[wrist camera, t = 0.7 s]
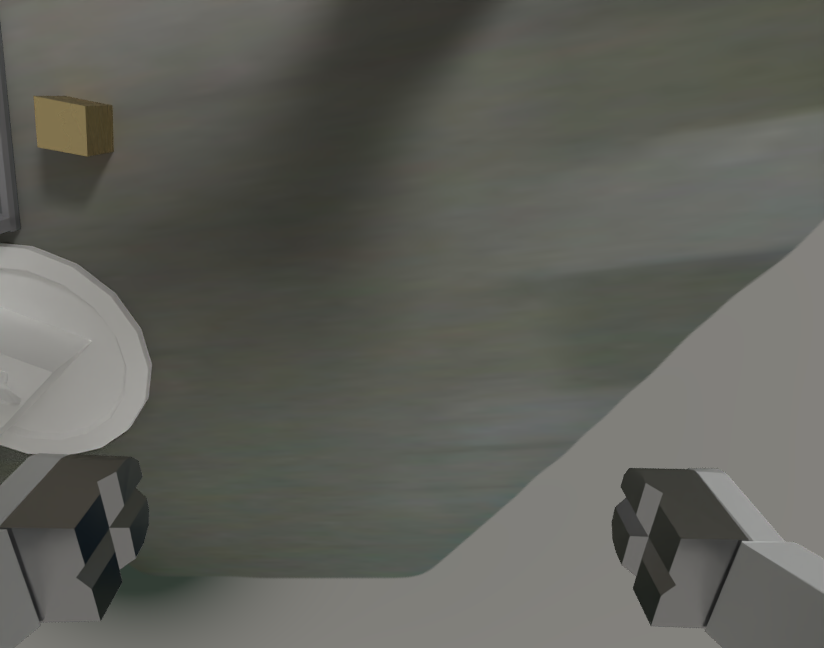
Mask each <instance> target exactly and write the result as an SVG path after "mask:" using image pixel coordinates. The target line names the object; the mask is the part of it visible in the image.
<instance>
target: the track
mask: <svg viewBox="0 0 824 648" xmlns="http://www.w3.org/2000/svg"><path fill="white" fill-rule="evenodd" d="M19 229H21V227H20V217H19V207H18V197H17V187H16V176H15V166H14V156H13V146H12V136H11V126H10V116H9V105H8V95H7V85H6V75H5V65H4V55H3V45H2V35H1V24H0V234H2V233H5V232H14V231H16V230H19Z"/></svg>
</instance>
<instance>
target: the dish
mask: <svg viewBox="0 0 824 648" xmlns="http://www.w3.org/2000/svg"><path fill="white" fill-rule="evenodd" d="M151 371H152V363H151V359H150V356H149V353H148V349H147V346H146V343H145V340H144V336H143V333H142V330H141V328H140V326H139V325H138V323H137V322H136V321H135V319H134V318H133V316H132V315H131V314H130V312H129V311H128V310H127V308H126V307H125V305H124V304H123V303H122V301H121V300H120V299H119V297H118V296H117V294H116V293H115V292H113V291H112V290H111V289H110V288H108V287H107V286H106V285H104V284H103V283H102V282H101V281H99V280H98V279H97V278H95V277H94V276H93V275H91V274H90V273H89V272H88V271H86V270H85V269H84V268H82V267H81V266H80V265H78V264H76V263H74V262H72V261H69V260H67V259H64V258H62V257H59V256H57V255H54V254H52V253H49V252H47V251H44V250H42V249H39V248H37V247H34V246H28V245H17V244H6V243H0V445H2V446H5V447H8V448H11V449H14V450H17V451H20V452H24V453H27V454H39V453H47V454H67V455H70V454H77V453H82V452H86V451H90V450H94V449H98V448H102V447H103V446H105V445H106V444H108V443H109V442H111V441H112V440H114V439H115V438H117V437H118V436H120V435H121V434H123V433H124V432H125V431H127V430H128V429H129V428H130V427H131V426H132V424H133V423H134V421H135V419H136V418H137V416H138V415H139V413H140V411H141V410H142V408H143V406H144V405H145V403H146V401H147V400H148V398H149V390H150V380H151Z"/></svg>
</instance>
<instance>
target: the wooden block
mask: <svg viewBox="0 0 824 648" xmlns="http://www.w3.org/2000/svg"><path fill="white" fill-rule="evenodd" d="M34 107H35V120H36V132H37V145H38V147H39V148H45V149H50V150H55V151H61V152H66V153H71V154H77V155H82V156H87V157H88V156H93V155H98V154H103V153H109V152H114V147H113V111H112V105H108V104H103V103H98V102H93V101H87V100H82V99H77V98H72V97H67V96H34Z"/></svg>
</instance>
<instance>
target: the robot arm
mask: <svg viewBox="0 0 824 648" xmlns="http://www.w3.org/2000/svg"><path fill="white" fill-rule="evenodd" d="M142 477H143V476H142V472H141V468H140V465H139V461H138V460H137V459H135V458H133V457H127V456H104V455H82V454H70V455H67V454H47V453H39V454H36V455H33V456H30V457H28V458H27V459H26V460H25V461H24V462H23V463H22V464H21V465H20V466H19V467H18V468H17V469H16V470H15V471H14V472H13V473H12V474H11V475H10V476H9V477H8V478H7V479H6V480H5V481H4V482H3V483H2V484H1V485H0V648H14V647H15V646H17V645H18V644H19V643H20V642H22V641H23V640H24V639H25V638H26V637H28V636H29V635H30V634H31V633H32V632H34V631H35V630H36V629H37V628H39V627H40V622H86V621H101V620H102V618H103V616H104V614H105V612H106V611H107V609H108V607H109V605H110V604H111V602H112V600H113V598H114V596H115V595H116V593H117V591H118V589H119V587H120V586H121V584H122V578H121V574H120V569H121V568H123V567H124V566H125V565H127V564H128V563H130V562H131V561H133V560H134V559H135V558H136V557H137V555H138V553H139V551H140V549H141V548H142V546H143V544H144V541H145V537H146V533H147V530H148V526H149V506H148V501H147V498H146V497H145V496H144V495H143V494H142V493H141V492H140V491H139V490H138V489H136V486H137V485H138V483H139V482H140V480H141V479H142ZM621 488H622V490H623V492H624V494H625V496H626V498H625V499H624V500H623V501H622V502H621V503H619V504H618V505H617V506H616V507H615V510H614V515H613V519H612V538H613V543H614V546H615V550H616V553H617V555H618V558H619V560H620V562H621V564H622V566H624V567H625V568H627V569H628V570H629V571H630V572H631V573H633V574H634V575H635V576H636V579H635V583H634V586H633V590H634V592H635V594H636V596H637V598H638V600H639V602H640V605H641V607H642V609H643V611H644V613H645V615H646V617H647V619H648V621H649V623H650V625H651V626H658V627H683V628H706V629H705V632H706V633H707V634H708V635H709V636H711V637H712V638H713V639H714V640H715V641H716V642H717V643H718V644H719V645H720V646H721V647H722V648H824V558H822V557H820V556H818V555H817V554H815V553H813V552H812V551H810V550H808V549H806V548H805V547H803V546H801V545H799V544H798V543H796V542H785V541H784V540H783V539H782V537H781V536H780V535H779V534H778V533H777V532H776V530H775V529H774V528H773V527H772V526H771V525H770V523H769V522H768V521H767V520H766V519H765V518H764V517H763V515H762V514H761V513H760V512H759V511H758V509H757V508H756V507H755V506H754V505H753V504H752V502H751V501H750V500H749V499H748V498H747V497H746V496H745V494H744V493H743V492H742V491H741V490H740V488H738V486H737V485H736V484H735V483H734V482H733V480H732V479H731V478H730V477H729V476H728V475H727V473H725V472H724V471H722V470H720V469H718V468H688V469H656V468H655V469H654V468H629V469H628V470H627V472H626V473H625V474H624V477H623V481H622V484H621Z"/></svg>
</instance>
